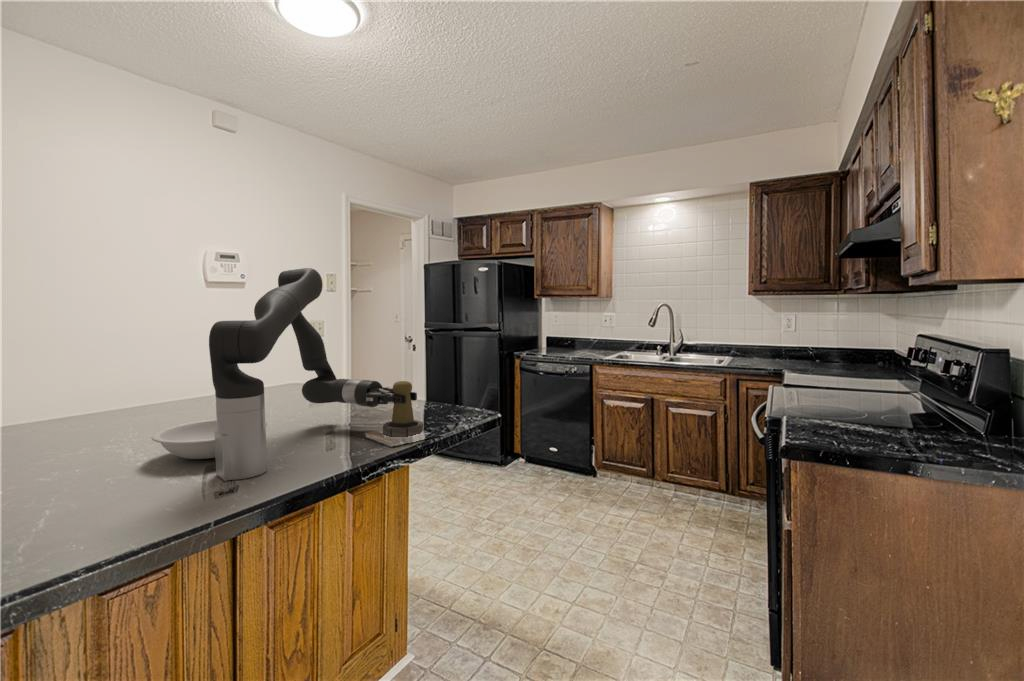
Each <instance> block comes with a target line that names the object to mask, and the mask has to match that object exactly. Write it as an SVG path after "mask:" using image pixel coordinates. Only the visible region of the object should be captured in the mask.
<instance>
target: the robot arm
mask: <svg viewBox="0 0 1024 681" xmlns="http://www.w3.org/2000/svg"><path fill="white" fill-rule="evenodd" d="M277 284H278V286H277V287H275V288H273V289H271V290H269V291H267V292H265V294H263V295H262V296H261V297H260V298H259V299H258V300H257V302H255V305H254V309H253V313H254V318H255V319H254V320H220V321H219V320H218V321H216V322H215V323H214V324H213V325H212V327H211V328H210V330H209V331H210V332H209V336H208V348H209V359H210V366H211V379H212V385H213V388H214V391H215V393H214V394H215V410H216V411H215V412H216V419H217V431H215V432H214V437H215V458H214V459H215V474H216V476H218V477H219V478H220V479H221V480H222V481H224V482H226V481H231V480H232V481H236V480H242V479H243V480H244V479H245V480H246V479H251V478H254V477H257V476H258V477H259V476H260V475H262V474H264V473H266V472H267V471H268V457H267V434H266V433H267V430H266V428H267V426H266V425H265V422H266V407H265V406H266V405H265V402H266V401H265V385H264V384H265V383H264V381H263V380H261V378H260V379H259V378H257V377H254V376H251V375H249V374H247V373H245V372H244V371H242V370H241V369H240V367H239V365H238V364H257V363H260V362H263V361H264V360H265V359H267V357H268V356H269V354H270V353H271V352H272V350H273V348H274V346H275V344H276V343H277V341H278V340H279V338H280V336H282V334H283V333H284V332H285V330H286V329H287V328H288V327H289V326H290V325H291V326H292V329H293V332H294V335H295V337H296V342H297V345H298V350H299V355H300V360H301V362H302V367H303V369H304V370H305V371H308V372H312V371H313V372H315V374H316V376H317V377H313V378H311V379H309V380H307V381H305V382H304V383H303V385H302V387H301V394H302V397H303V398H304V399H305V400H306V401H307V402H309V403H311V404H330V403H341V404H349V405H352V406H359V407H367V408H375V407H377V406H379V405H388V404H394V403H402V404H404V403H406V402H407V397H406V395H398V394H395V393H394V392H393V387H389V386H384V387H383V385H382V384H381V383H380V382H379V381H377V380H370V379H347V378H338V379H337V376H336V375H335V373H334V371H333V369H332V367H331V365H330V363H329V361H328V358H327V353H326V352H327V351H326V347H325V343H324V340H323V338H322V336H321V335H320V333H319V332H318V331H317V329H316V328H315V327H314V326H313V325H312V324H311V323H310V322H309V321H308V320H307V318H306V317H305V316H304V315H303V313H302V311H303V310H304V309H305V308H306V307H307V306H308V305H310V304H311V303H313V302H314V301H315V300H317V299H318V298H319V297H320V296H321V294H322V290H323V279H322V276H321V274H320V273H319V272H318V270H316V269H314V268H311V267H303V268H297V269H295V268H294V269H290V270H289V269H288V270H283V271H281V272H280V273H279V275H278V278H277ZM410 396H411V401H416V400H417V399H418V393H417V392H416V391H415V392H413V391H411V392H410Z"/></svg>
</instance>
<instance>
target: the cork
mask: <svg viewBox="0 0 1024 681" xmlns="http://www.w3.org/2000/svg"><path fill="white" fill-rule="evenodd" d="M392 385H393V386H392V388H393V392H394V393H395V394H398V395H406V397H407V402H406V403H404V404H402V403H393V407H392V414H391V415H392V416H391V421H392V422H393V423H410V422H413V421H414V420H415V419H414V418H415V417H414V411H413V405H412V400H411V396H410V392H413V385H412V383H411V382H410V381H407V380H401V381H399V380H398V381H395V382H394V383H393V384H392Z"/></svg>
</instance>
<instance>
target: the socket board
mask: <svg viewBox="0 0 1024 681" xmlns="http://www.w3.org/2000/svg"><path fill="white" fill-rule="evenodd" d="M423 426H424V421H420V420H417V419H414V421H413V422H410V423H393V422H392V420H391V421H387V422H385V423H384V424H383V425H382V430H383V433H382V434H383V435H386V436H389V437H408V436H413V435H416V434H420V433H421V432H422V431H423ZM365 434H366V435H369V436H372V437H375V438H378V439H381V440H384V441H386V442H389V443H393V442H392V441H390V440H391V439H390V440H388V439H387V440H386V439H384V436H383V435H382V434H381V433H379V430H375V431H374V430H373V431H370V432H365V433H364V435H365Z"/></svg>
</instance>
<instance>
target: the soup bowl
mask: <svg viewBox="0 0 1024 681" xmlns="http://www.w3.org/2000/svg"><path fill="white" fill-rule="evenodd" d="M265 425H266V427H267V426H268V423H267V422H266V421H265ZM215 431H217V418H212V419H204V420H197V421H191V422H185V423H180V424H177V425H172V426H169V427H165V428H162V429H159V430H158V431H156V432H154V433H153V434H152V435H151V441H152V442H156V443H160V445H161V446H162V447H163V449H165V450H166V451H167V452H169V453H170V454H172V455H174V456H177V457H178V458H183V459H189V460H205V459H216V458H215V437H214V432H215Z"/></svg>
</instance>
